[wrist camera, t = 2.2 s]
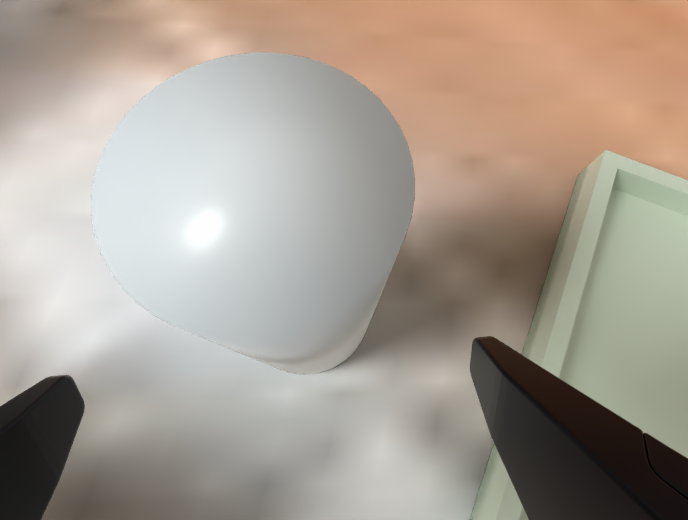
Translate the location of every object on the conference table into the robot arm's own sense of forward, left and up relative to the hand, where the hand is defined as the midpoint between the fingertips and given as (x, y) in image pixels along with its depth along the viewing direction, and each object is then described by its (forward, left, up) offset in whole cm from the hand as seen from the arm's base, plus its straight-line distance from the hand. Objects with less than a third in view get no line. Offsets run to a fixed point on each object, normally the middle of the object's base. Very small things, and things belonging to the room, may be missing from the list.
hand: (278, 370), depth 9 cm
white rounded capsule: (+3, -2, -11) cm, 11 cm away
